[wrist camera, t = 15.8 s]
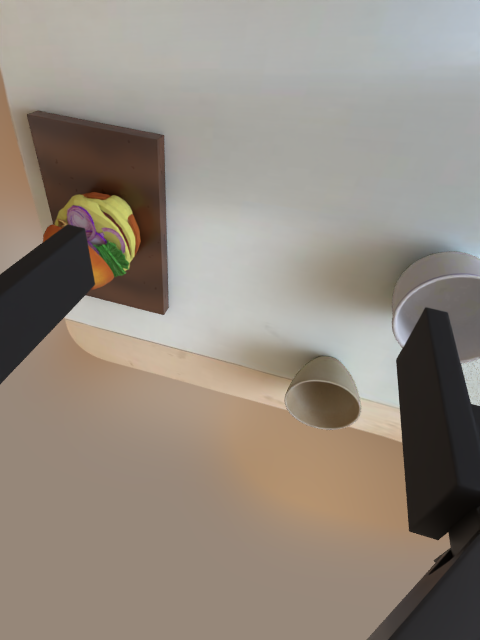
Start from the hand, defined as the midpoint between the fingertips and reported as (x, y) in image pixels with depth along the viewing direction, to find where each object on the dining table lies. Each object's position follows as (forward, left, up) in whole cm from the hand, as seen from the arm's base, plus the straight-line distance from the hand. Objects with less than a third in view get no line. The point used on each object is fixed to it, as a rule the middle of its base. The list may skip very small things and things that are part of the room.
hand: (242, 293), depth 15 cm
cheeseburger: (+16, -23, -27) cm, 39 cm away
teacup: (+14, +19, -29) cm, 37 cm away
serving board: (+16, -23, -29) cm, 40 cm away
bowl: (+32, +9, -29) cm, 44 cm away
